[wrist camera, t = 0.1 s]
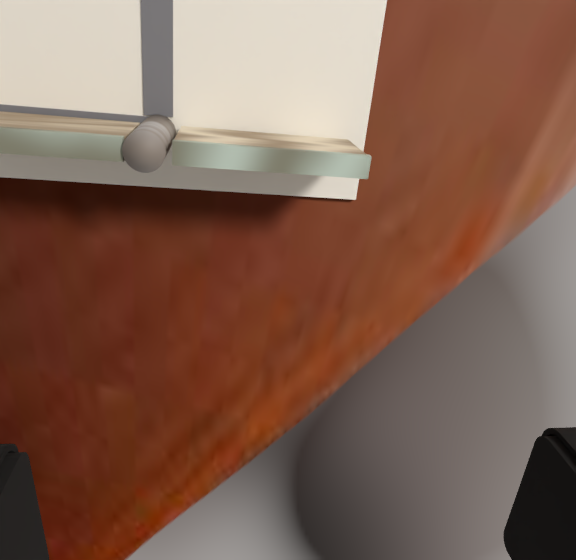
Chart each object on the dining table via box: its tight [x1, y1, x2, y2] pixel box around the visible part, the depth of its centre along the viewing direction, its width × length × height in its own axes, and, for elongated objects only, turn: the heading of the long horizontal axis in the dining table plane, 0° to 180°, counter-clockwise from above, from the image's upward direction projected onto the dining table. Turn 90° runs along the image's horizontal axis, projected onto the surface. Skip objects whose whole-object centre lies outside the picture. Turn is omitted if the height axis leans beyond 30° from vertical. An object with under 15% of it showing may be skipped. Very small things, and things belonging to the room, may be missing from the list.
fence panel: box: [172, 126, 371, 179], centre depth 33 cm, size 12×1×7 cm, turn 85°
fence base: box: [0, 111, 176, 173], centre depth 32 cm, size 2×14×8 cm, turn 84°
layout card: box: [0, 0, 387, 200], centre depth 33 cm, size 20×30×1 cm, turn 84°
